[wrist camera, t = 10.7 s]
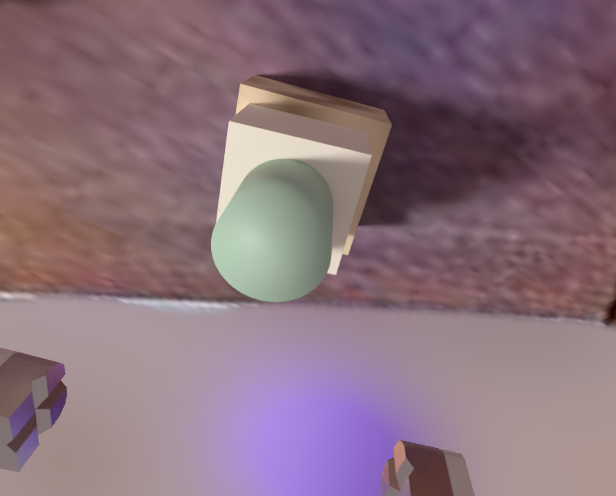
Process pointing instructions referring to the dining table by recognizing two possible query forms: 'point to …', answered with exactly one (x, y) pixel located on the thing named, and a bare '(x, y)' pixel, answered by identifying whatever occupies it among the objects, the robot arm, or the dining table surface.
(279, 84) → the tower base
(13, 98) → the dining table surface
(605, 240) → the dining table surface
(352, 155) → the tower top
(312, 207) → the sage green capsule
